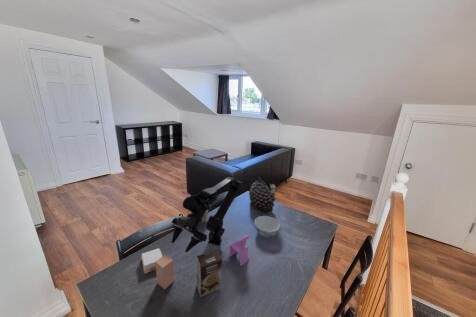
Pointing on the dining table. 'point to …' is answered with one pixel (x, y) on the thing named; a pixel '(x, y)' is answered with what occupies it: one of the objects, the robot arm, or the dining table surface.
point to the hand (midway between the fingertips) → (179, 247)
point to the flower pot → (204, 216)
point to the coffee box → (209, 272)
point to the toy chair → (240, 249)
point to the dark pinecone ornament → (262, 196)
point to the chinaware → (267, 226)
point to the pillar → (164, 271)
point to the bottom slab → (149, 268)
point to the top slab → (151, 258)
